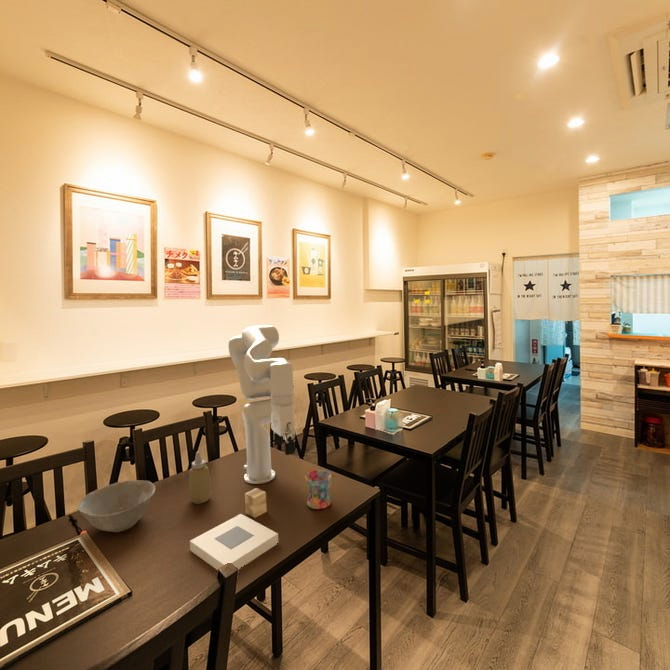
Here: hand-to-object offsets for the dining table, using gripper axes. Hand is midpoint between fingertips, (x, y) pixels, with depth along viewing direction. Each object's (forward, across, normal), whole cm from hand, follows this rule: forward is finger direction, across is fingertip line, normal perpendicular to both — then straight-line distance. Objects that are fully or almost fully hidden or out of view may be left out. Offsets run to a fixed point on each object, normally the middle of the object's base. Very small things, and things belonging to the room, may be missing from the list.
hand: (284, 449), depth 131 cm
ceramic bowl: (+23, -22, -49) cm, 59 cm away
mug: (+22, +1, +13) cm, 26 cm away
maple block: (+22, -6, -9) cm, 25 cm away
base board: (+22, +9, -20) cm, 31 cm away
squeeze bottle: (+23, -25, -24) cm, 41 cm away
